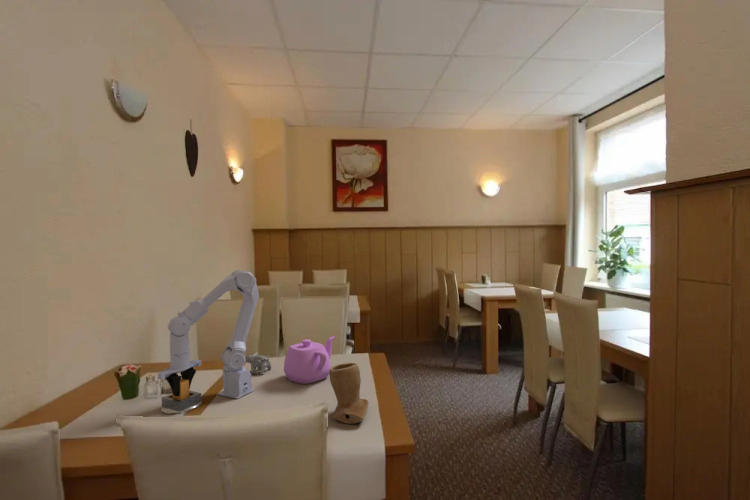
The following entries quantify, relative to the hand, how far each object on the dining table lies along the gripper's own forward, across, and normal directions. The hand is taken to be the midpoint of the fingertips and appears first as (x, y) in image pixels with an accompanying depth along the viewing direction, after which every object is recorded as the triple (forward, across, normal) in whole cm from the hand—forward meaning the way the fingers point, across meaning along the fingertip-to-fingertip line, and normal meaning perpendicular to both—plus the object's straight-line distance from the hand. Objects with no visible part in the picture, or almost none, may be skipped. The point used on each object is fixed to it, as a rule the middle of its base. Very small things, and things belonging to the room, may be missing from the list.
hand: (181, 393), depth 123 cm
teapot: (+4, -38, +24) cm, 45 cm away
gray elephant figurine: (+4, -35, -1) cm, 35 cm away
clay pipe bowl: (+4, -16, +55) cm, 57 cm away
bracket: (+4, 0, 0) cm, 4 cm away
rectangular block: (+4, 0, 0) cm, 4 cm away
